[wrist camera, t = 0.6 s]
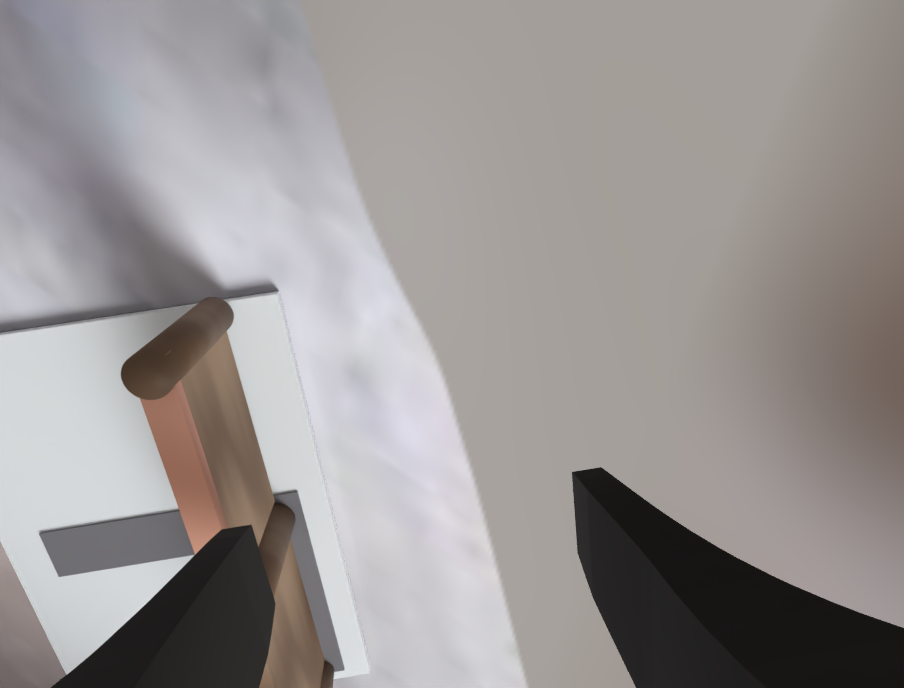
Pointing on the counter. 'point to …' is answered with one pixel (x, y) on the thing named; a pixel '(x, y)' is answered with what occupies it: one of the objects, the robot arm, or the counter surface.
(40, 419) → the card
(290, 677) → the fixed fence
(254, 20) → the counter surface
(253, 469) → the panel
